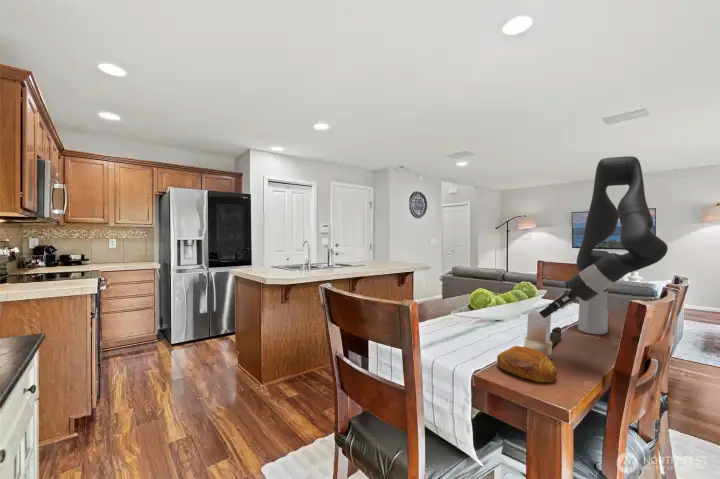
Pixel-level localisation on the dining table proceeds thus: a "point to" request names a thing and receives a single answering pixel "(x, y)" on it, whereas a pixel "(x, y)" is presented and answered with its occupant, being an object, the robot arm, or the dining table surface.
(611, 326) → the dining table surface
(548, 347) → the cream rounded block
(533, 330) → the light grey block
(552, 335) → the hand tool
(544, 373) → the croissant
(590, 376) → the dining table surface
